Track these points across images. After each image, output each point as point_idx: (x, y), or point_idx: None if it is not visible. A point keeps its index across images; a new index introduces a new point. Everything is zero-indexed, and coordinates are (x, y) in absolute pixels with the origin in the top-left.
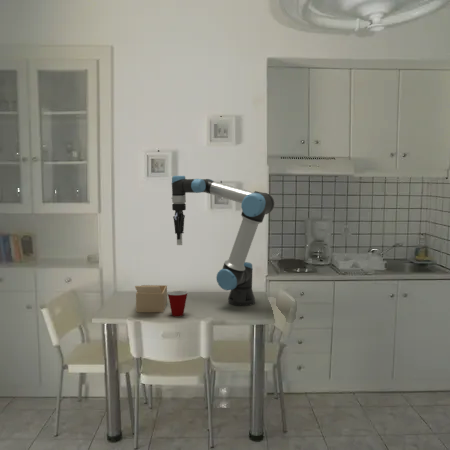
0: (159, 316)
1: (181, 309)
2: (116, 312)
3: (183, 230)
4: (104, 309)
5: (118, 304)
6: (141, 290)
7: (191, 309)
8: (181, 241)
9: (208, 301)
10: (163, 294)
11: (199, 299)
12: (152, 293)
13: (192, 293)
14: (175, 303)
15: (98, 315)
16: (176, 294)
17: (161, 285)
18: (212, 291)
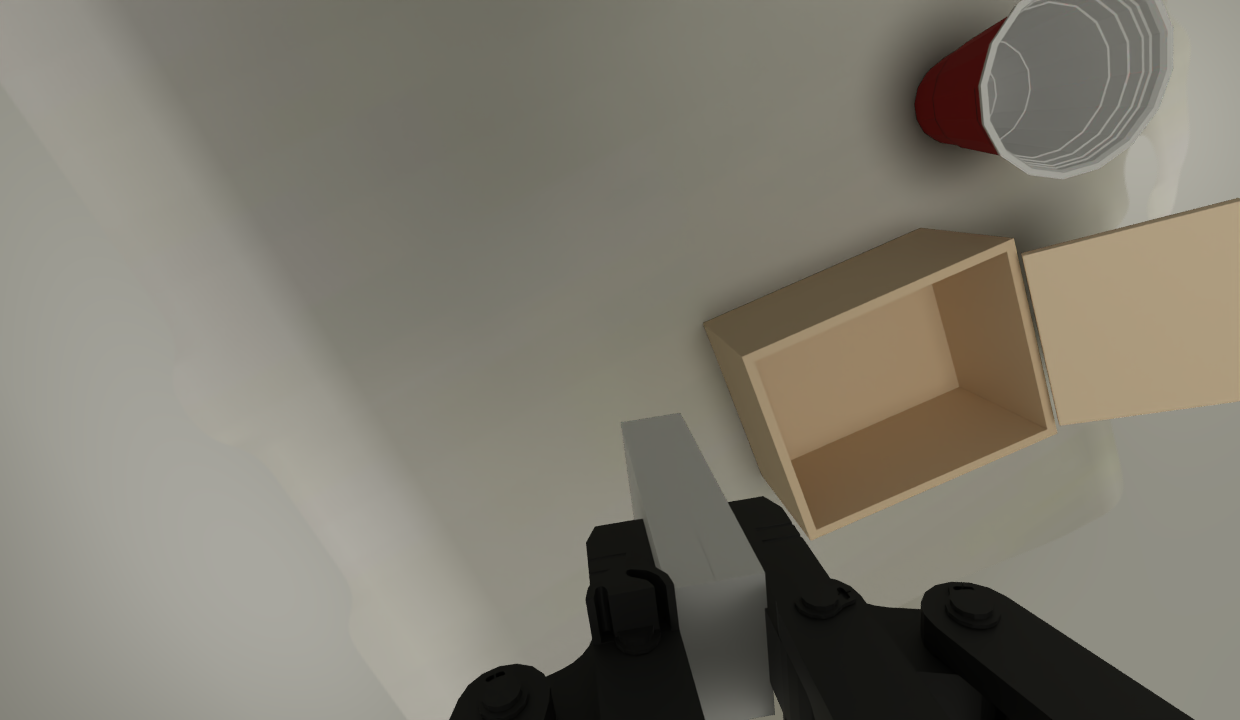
0: (1012, 202)
1: (1016, 44)
2: (998, 483)
3: (492, 701)
4: (960, 575)
5: (842, 574)
6: (1130, 376)
7: (793, 67)
8: (688, 449)
9: (522, 33)
10: (987, 244)
11: (498, 138)
12: (1030, 319)
13: (345, 284)
14: (1081, 73)
15: (1072, 531)
16: (1172, 37)
17: (761, 397)
18: (174, 148)
